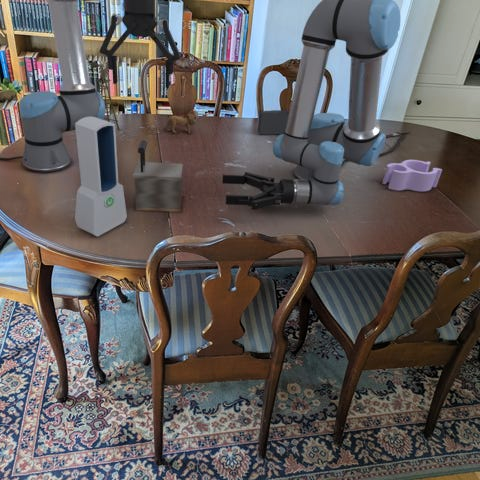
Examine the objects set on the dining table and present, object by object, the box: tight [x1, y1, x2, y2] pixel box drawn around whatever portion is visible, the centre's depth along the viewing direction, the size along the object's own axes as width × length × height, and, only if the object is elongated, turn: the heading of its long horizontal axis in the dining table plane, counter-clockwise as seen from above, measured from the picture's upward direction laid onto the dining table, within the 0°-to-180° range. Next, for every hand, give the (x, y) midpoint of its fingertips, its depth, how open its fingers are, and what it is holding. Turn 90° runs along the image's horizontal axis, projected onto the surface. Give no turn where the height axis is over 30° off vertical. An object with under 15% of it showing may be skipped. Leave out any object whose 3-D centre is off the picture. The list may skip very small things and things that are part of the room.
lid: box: [131, 139, 184, 180], centre depth 136 cm, size 14×10×9 cm
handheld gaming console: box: [257, 109, 290, 136], centre depth 204 cm, size 23×3×10 cm, turn 108°
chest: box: [134, 167, 184, 213], centre depth 141 cm, size 13×10×10 cm
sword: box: [385, 131, 411, 138], centre depth 215 cm, size 31×3×1 cm, turn 126°
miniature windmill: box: [90, 54, 120, 130], centre depth 181 cm, size 9×8×30 cm
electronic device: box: [74, 116, 128, 238], centre depth 122 cm, size 12×8×30 cm, turn 148°
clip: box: [381, 159, 443, 192], centre depth 171 cm, size 20×12×7 cm, turn 109°
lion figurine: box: [163, 109, 199, 134], centre depth 194 cm, size 15×5×9 cm, turn 110°
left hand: (141, 84), depth 124 cm, fingers open, 13 cm apart
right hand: (224, 189), depth 141 cm, fingers open, 13 cm apart
